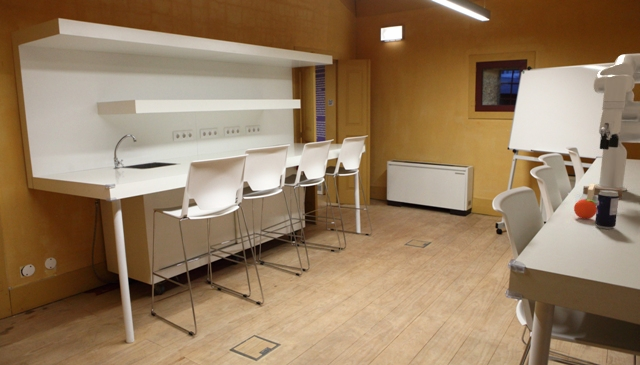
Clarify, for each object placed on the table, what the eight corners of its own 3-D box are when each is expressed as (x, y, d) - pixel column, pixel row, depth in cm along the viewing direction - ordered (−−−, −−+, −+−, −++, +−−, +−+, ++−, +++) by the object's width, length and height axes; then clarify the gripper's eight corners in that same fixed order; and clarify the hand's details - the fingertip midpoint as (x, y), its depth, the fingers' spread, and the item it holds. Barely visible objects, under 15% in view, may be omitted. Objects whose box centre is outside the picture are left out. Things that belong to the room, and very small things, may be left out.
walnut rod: (582, 194, 204) (583, 185, 203) (620, 197, 198) (621, 188, 197) (583, 196, 200) (584, 187, 200) (621, 199, 194) (622, 190, 194)
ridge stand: (582, 196, 200) (583, 182, 199) (601, 197, 196) (602, 184, 195) (578, 203, 185) (579, 188, 184) (598, 205, 181) (600, 190, 180)
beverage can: (609, 225, 153) (613, 189, 151) (618, 229, 147) (623, 193, 145) (591, 224, 154) (595, 189, 151) (600, 229, 148) (604, 192, 146)
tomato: (599, 218, 162) (602, 198, 161) (598, 222, 156) (601, 202, 155) (574, 215, 166) (576, 196, 165) (572, 219, 160) (574, 199, 159)
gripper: (611, 105, 195) (606, 145, 198) (594, 106, 184) (590, 149, 187) (631, 105, 189) (626, 147, 192) (615, 106, 178) (610, 150, 182)
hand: (608, 148), depth 190 cm, fingers open, 9 cm apart
